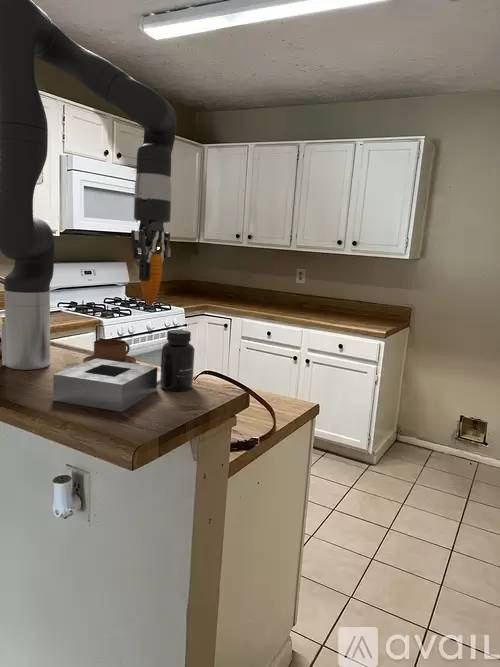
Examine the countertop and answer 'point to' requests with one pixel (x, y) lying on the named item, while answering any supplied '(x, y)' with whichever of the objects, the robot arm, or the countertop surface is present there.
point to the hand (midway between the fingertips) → (150, 279)
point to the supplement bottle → (177, 361)
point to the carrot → (153, 278)
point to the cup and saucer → (111, 351)
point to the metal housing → (105, 384)
